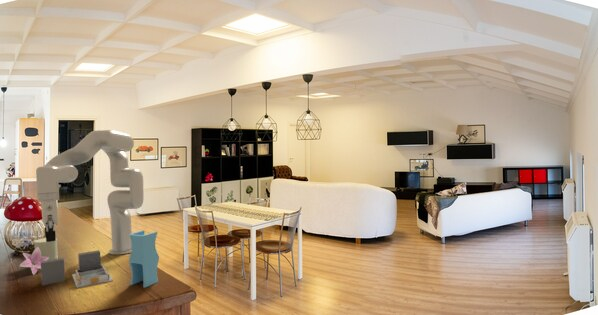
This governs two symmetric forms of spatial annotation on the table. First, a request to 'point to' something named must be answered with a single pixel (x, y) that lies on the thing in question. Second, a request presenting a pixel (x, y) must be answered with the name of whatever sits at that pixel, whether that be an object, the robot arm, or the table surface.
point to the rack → (90, 270)
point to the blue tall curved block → (143, 258)
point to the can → (47, 248)
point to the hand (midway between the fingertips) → (50, 239)
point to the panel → (52, 271)
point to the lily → (34, 260)
